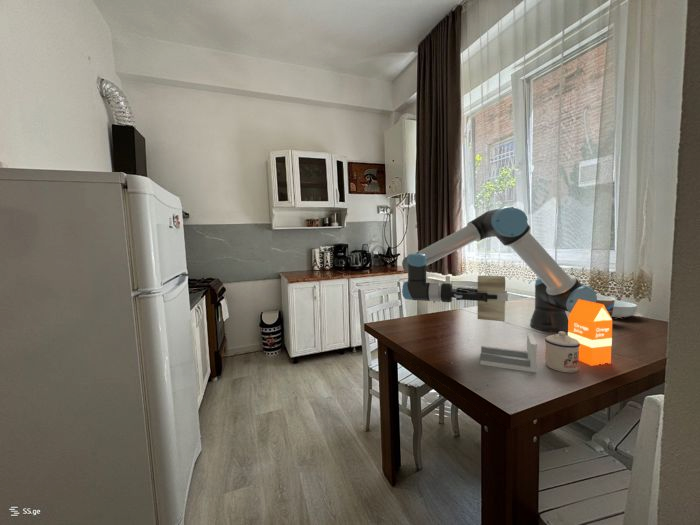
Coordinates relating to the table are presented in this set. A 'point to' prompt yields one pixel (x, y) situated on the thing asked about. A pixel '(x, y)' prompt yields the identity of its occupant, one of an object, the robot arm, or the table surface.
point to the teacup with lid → (562, 352)
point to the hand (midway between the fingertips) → (507, 295)
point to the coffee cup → (606, 303)
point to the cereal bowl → (623, 309)
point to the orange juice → (591, 332)
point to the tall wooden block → (491, 307)
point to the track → (511, 357)
